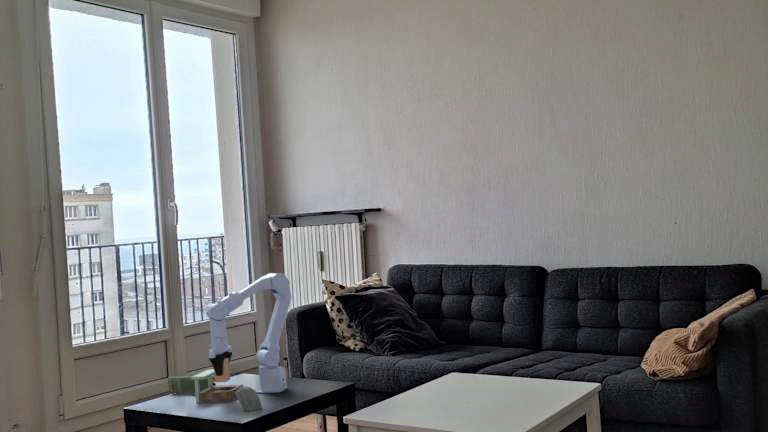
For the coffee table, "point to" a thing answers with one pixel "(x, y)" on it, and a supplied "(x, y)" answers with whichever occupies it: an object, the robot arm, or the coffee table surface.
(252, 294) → the robot arm
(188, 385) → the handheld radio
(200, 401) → the socket plate
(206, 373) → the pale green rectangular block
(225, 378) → the tan peg
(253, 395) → the mineral specimen
